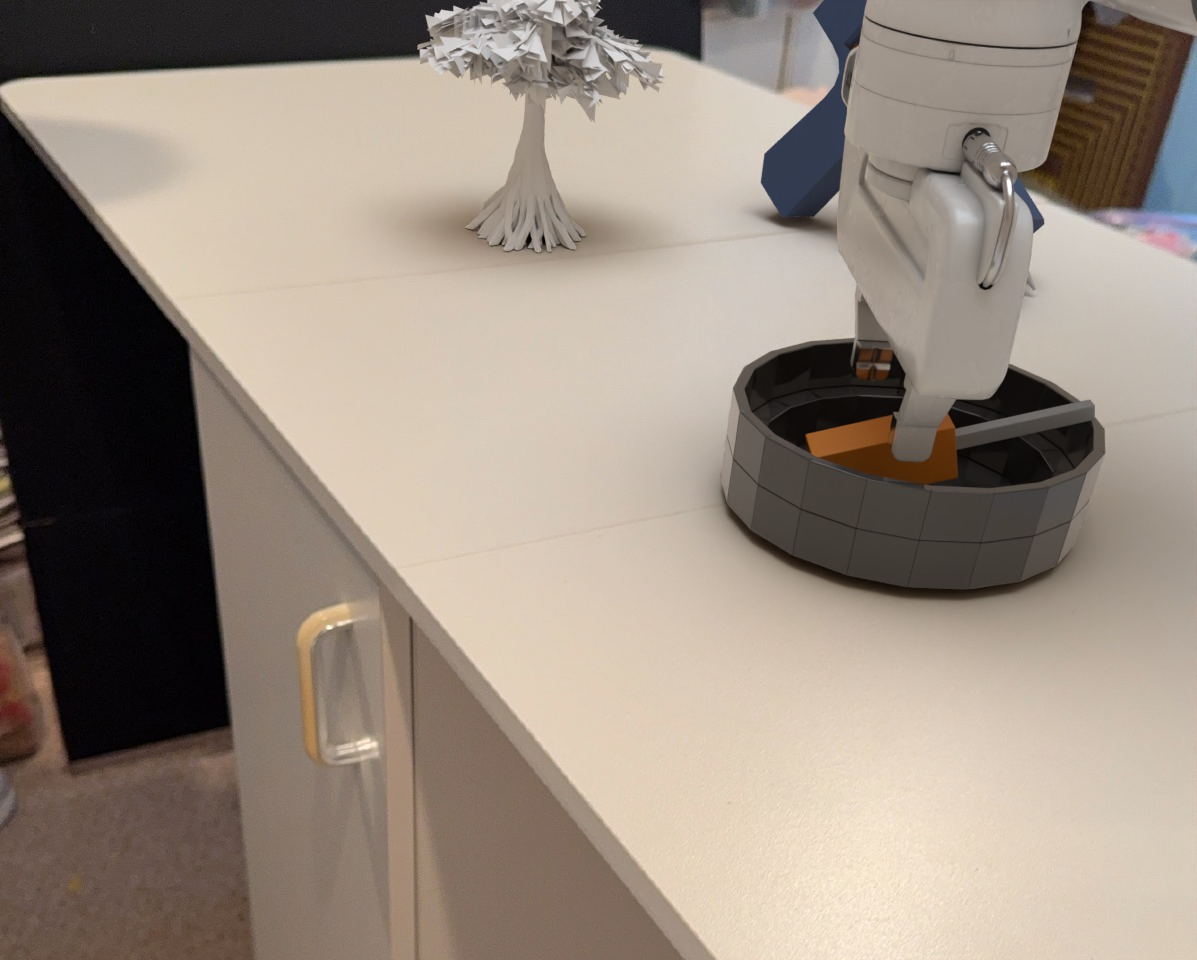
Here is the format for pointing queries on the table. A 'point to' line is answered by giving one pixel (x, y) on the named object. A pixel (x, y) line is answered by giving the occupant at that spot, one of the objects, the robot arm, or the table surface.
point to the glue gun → (828, 133)
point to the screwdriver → (872, 453)
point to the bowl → (895, 507)
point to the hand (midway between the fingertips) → (886, 413)
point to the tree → (535, 95)
